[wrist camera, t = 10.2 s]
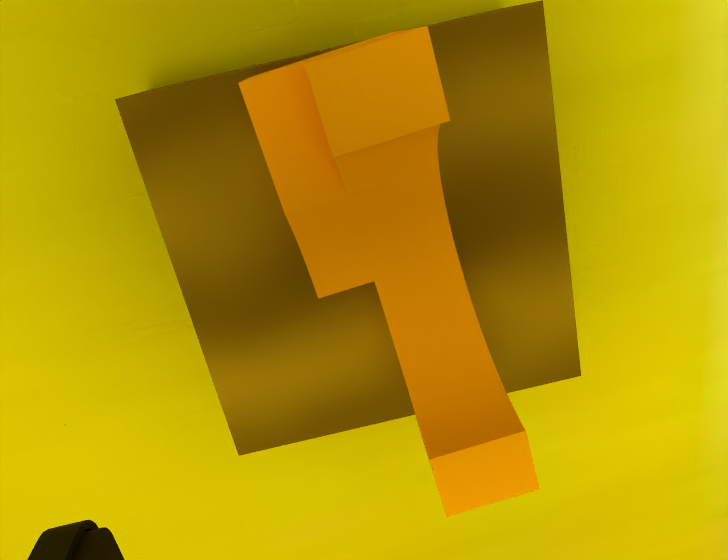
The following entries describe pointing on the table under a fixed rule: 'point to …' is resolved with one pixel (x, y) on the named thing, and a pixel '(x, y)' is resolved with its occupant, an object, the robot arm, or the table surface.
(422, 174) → the pipe clamp
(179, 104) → the walnut block
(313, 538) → the table surface
